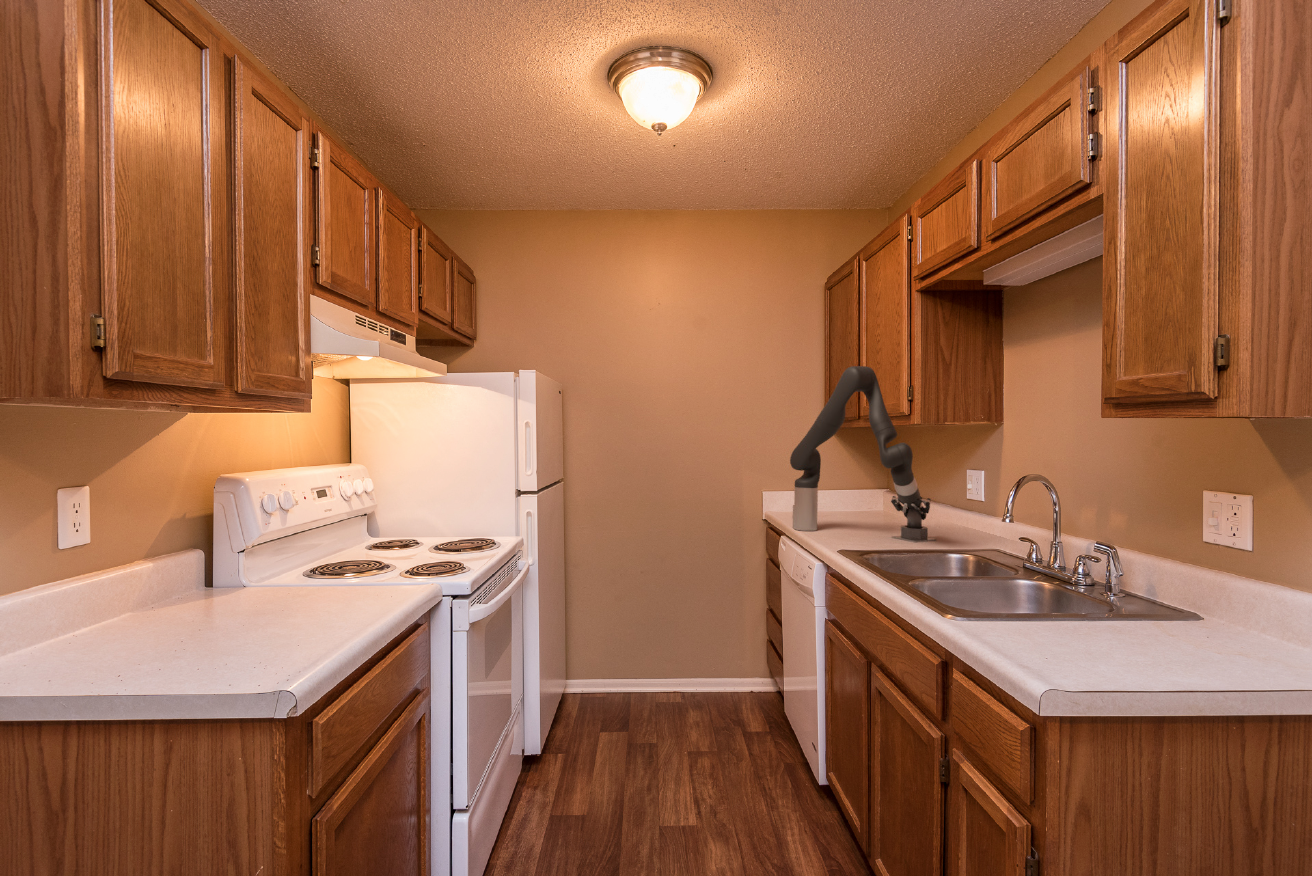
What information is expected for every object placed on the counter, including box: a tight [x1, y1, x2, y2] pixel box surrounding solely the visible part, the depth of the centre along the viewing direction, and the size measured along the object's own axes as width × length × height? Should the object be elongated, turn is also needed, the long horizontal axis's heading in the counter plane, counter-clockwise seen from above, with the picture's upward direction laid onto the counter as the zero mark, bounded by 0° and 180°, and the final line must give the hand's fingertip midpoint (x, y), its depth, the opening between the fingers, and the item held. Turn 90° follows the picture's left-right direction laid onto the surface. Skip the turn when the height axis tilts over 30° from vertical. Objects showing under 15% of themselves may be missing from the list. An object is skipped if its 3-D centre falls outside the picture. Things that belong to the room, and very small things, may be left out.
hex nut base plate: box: [891, 524, 938, 543], centre depth 233 cm, size 11×11×4 cm
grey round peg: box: [906, 507, 923, 528], centre depth 232 cm, size 5×5×10 cm
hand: (915, 517), depth 234 cm, fingers closed on grey round peg, 5 cm apart
